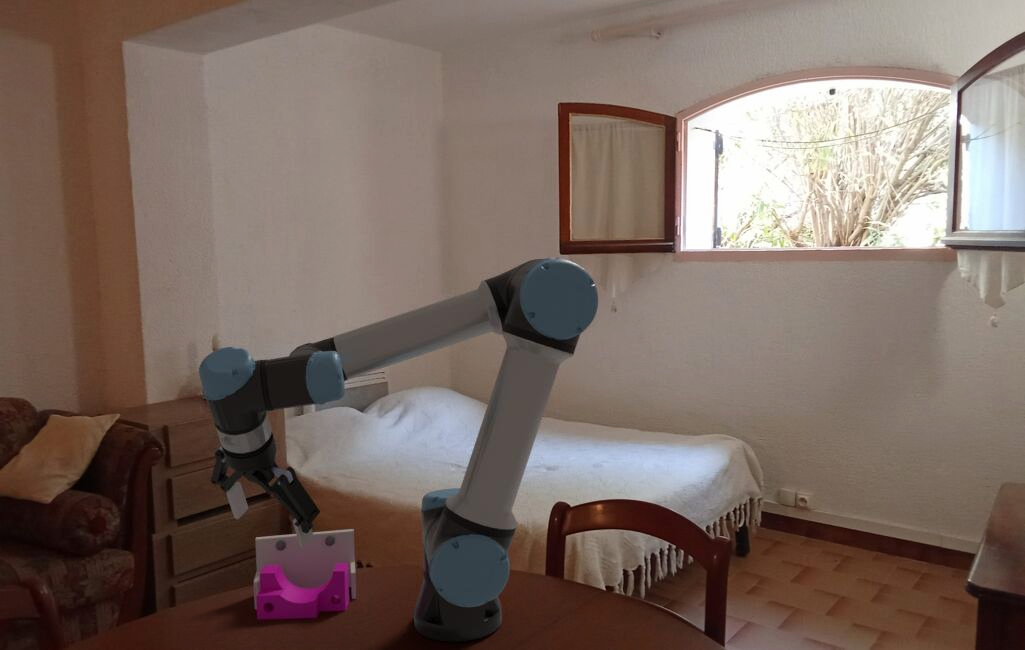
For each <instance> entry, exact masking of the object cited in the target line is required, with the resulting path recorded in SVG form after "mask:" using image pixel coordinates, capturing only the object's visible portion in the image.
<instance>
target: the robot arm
mask: <svg viewBox="0 0 1025 650" xmlns="http://www.w3.org/2000/svg"><path fill="white" fill-rule="evenodd" d="M597 289H598V288H597V286H596V284H595V282H594V280H593V278H592V276H591V274H589V272H588V271H587V270H586V269H585V268H584V267H582V266H581V265H580V264H577V263H575V262H574V261H570V260H568V259H567V258H566V259H565V258H560V257H548V258H535V259H532V260H531V259H530V260H528V261H526V262H524V263H521V264H519V265H517V266H516V267H514V268H511V269H509V270H507V271H504V272H503V273H500V274H498V275H496V276H493V277H489V278H487V279H484V280H482V281H481V282H480V284H479V285H478V287H477V288H476V289H473V290H470V291H467V292H464V293H461V294H458V295H455V296H452V297H448V298H445V299H442V300H440V301H437V302H434V303H431V304H428V305H423V306H421V307H419V308H416V309H412V310H409V311H406V312H404V313H400V314H398V315H394V316H391V317H388V318H385V319H382V320H379V321H376V322H373V323H370V324H367V325H364V326H361V327H357V328H355V329H352V330H349V331H346V332H342V333H340V334H337V335H334V336H332V337H328V338H325V339H322V340H320V341H319V340H318V341H315V342H307V343H304V344H302V345H298V346H297V347H296V348H294V350H292V351H291V352H290V353H289V355H288V356H283V357H277V358H270V359H257V360H255V359H254V358H253V356H252V355H251V353H250V352H249V351H248V350H246V349H244V348H243V347H239V348H237V347H235V346H226V347H221V348H219V349H216V350H214V351H212V352H210V353H209V354H207V355H206V356H205V357H204V358H203V359H202V361H201V362H200V365H199V367H198V374H199V379H200V382H201V388H202V394H203V396H204V399H205V401H206V403H207V404H206V405H207V407H208V409H209V412H210V415H211V418H212V420H213V423H214V426H215V429H216V432H217V436H218V438H219V442H220V445H221V446H220V447H219V448H218V449H217V450H216V451H215V452H214V456H215V463H214V466H213V469H212V474H211V478H210V482H211V484H212V485H214V486H217V485H219V489H221V490H222V491H223V492H224V494H225V499H226V500H227V501H228V502H229V506H230V509H231V512H232V514H233V518H234V519H235V520H239V519H240V518H241V517H242V516H243V515H244V514H245V513H246V512H247V511H248V509H249V506H248V502H247V499H246V496H245V493H244V490H243V489H244V488H243V486H242V483H241V482H239V481H238V480H240V479H241V478H242V477H244V478H245V479H246V480H247V481H248V482H250V483H255V484H256V485H258V486H260V487H261V488H262V489H263V490H264V491H265V492H266V493H267V494H272V495H273V497H274V498H276V500H277V501H278V502H279V503H280V504H281V505H282V507H284V508H285V509H286V510H287V512H288V513H289V514H290V515H292V517H293V518H294V519H293V520H292V523H293V526H294V531H295V534H296V535H297V538H298V542H299V546H300V547H303V548H304V546H305V545H306V544H307V543H308V541H309V540H310V539H311V538H312V537H313V527H314V524H313V522H314V521H315V519H316V518H317V517H318V516H319V515H320V513H321V510H320V509H319V507H318V506H317V504H316V503H315V502H314V500H313V499H312V497H311V496H310V494H309V492H307V490H306V488H305V487H304V486H303V485H302V483H301V482H300V480H299V478H298V476H297V474H296V471H295V469H294V468H293V467H291V466H288V467H287V468H286V469H283V468H280V467H279V465H278V463H277V462H276V455H277V444H276V441H275V438H274V434H273V431H272V424H271V422H270V418H269V414H268V412H272V411H273V412H274V411H276V410H283V409H290V408H299V407H306V406H313V405H325V404H326V403H330V402H334V401H339V400H342V399H343V398H344V396H345V393H346V392H345V391H346V389H345V382H346V381H349V380H351V379H355V378H358V377H360V376H362V375H366V374H369V373H373V372H374V371H377V370H378V371H379V370H381V369H384V368H388V367H390V366H393V365H396V364H399V363H402V362H405V361H408V360H411V359H414V358H418V357H420V356H423V355H425V354H429V353H432V352H435V351H438V350H441V349H444V348H446V347H451V346H453V345H457V344H458V343H462V342H465V341H467V340H470V339H474V338H476V337H479V336H483V335H486V334H489V333H495V334H497V335H499V336H501V335H502V337H503V339H504V341H505V343H506V348H505V351H504V355H503V358H502V360H501V363H500V364H501V365H500V367H499V370H498V372H497V376H496V379H495V382H494V385H493V388H492V391H491V394H490V397H489V400H488V403H487V407H486V409H485V413H484V415H483V418H482V422H481V424H480V428H479V431H478V434H477V437H476V439H475V442H474V446H473V449H472V452H471V454H470V455H471V456H470V457H469V461H468V464H467V467H466V471H465V473H464V476H463V480H462V482H461V485H460V487H455V488H443V489H438V490H433V491H430V492H427V493H426V494H424V496H422V500H421V508H420V513H421V525H422V528H421V529H422V566H423V567H422V569H423V572H422V573H423V574H422V575H423V579H422V583H421V586H420V590H419V594H418V596H417V600H416V604H415V608H414V611H413V618H414V619H413V620H414V621H413V623H414V628H415V630H416V631H417V632H418V633H419V634H420V635H422V636H424V637H425V638H428V639H431V640H435V641H440V642H446V643H447V642H449V643H457V642H458V643H459V642H460V643H461V642H468V641H474V640H478V639H481V638H483V637H486V636H489V635H491V634H493V633H494V632H496V631H497V630H498V629H499V628H500V627H501V624H502V623H503V613H502V611H503V610H502V604H501V601H500V598H499V595H500V594H501V593H502V592H503V590H504V588H505V587H506V585H507V583H508V582H509V579H510V578H509V577H510V572H511V571H510V570H511V569H510V568H511V565H510V563H511V561H510V557H509V555H508V554H509V551H510V547H511V545H512V542H513V539H514V536H515V533H516V530H517V527H518V522H517V519H516V517H515V516H514V513H513V508H514V505H515V502H516V498H517V496H518V495H517V494H518V492H519V490H520V487H521V484H522V483H521V482H522V480H523V477H524V474H525V472H526V468H527V464H528V462H529V459H530V456H531V454H532V450H533V448H534V447H533V446H534V444H535V440H536V438H537V435H538V432H539V430H540V426H541V423H542V420H543V417H544V414H545V411H546V407H547V405H548V401H549V399H550V395H551V392H552V389H553V386H554V383H555V381H556V377H557V374H558V372H559V368H560V366H561V364H562V363H563V362H564V361H566V360H568V359H570V358H572V357H574V355H575V351H576V348H577V345H578V342H579V340H580V336H581V334H582V333H583V332H585V330H587V329H588V328H589V327H590V325H591V324H592V323H593V321H594V319H595V317H596V315H597V311H598V308H599V307H598V306H599V294H598V290H597ZM229 468H231V469H232V470H234V471H233V472H232V473H231V474H230V475H229V476H228V471H229ZM275 477H276V480H275V481H274V482H273V483H272V484H271V485H270V483H271V482H272V480H273V479H274V478H275Z"/></svg>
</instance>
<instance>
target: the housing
mask: <svg viewBox="0 0 1025 650" xmlns="http://www.w3.org/2000/svg"><path fill="white" fill-rule="evenodd" d="M312 532H313V531H312ZM355 559H356V558H355V530H354V528H351V529H348V528H347V529H336V530H326V531H315V532H313V537H312V538H311V539H310V540H309V541H308V543H307V544H306V545H305V546H304V548H303V547H300V546H299V542H298V538H297V535H296V533H291V534H290V533H289V534H281V535H280V534H279V535H270V536H269V535H268V536H267V535H266V536H259V537H258V536H256V537H255V561H256V562H255V563H256V565H255V566H256V571H255V572H256V573H255V576H254V579H253V596H254V597H253V599H254V600H253V601H254V602H253V603H254V610H257V600H256V595H257V594H258V593H259V591H260V572H261V571H262V570H263V568H264V567H265V566H266V565H280V566H281V569H282V572H283V574H284V576H285V577H286V578H287V579H288V581H290V582H291V583H292V584H294V585H296V586H298V587H301V588H306V589H312V588H317V587H320V586H322V585H324V584H325V583H327V582H328V581H329V580H330V579H331V578H332V575H333V571H334V569H335V567H336V565H337V563H348V575H349V588H350V589H351V590H350V591H351V600H356V599H357V580H356V560H355Z"/></svg>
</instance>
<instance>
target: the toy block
mask: <svg viewBox="0 0 1025 650" xmlns="http://www.w3.org/2000/svg"><path fill="white" fill-rule="evenodd" d="M256 600H257V609H256V618H257V619H256V620H284V619H285V620H287V619H289V620H290V619H311V618H312V619H317V618H318V617H319V616H318V615H319V613H320V612H343V611H344V612H345V611H347V609H348V606H349V604H350V587H349V575H348V563H337V565H336V567H335V569H334V571H333V575H332V578H331V579H330V580H329V581H328V582H327V583H325V584H324V585H322V586H320V587H317V588H312V589H306V588H301V587H298V586H296V585H294V584H292V583H291V582H290V581H288V579H287V578H286V577H285V576H284V574H283V572H282V569H281V566H280V565H266V566H265V567H264V568H263V570H262V571H261V572H260V591H259V593H258V594H257V595H256Z"/></svg>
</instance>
